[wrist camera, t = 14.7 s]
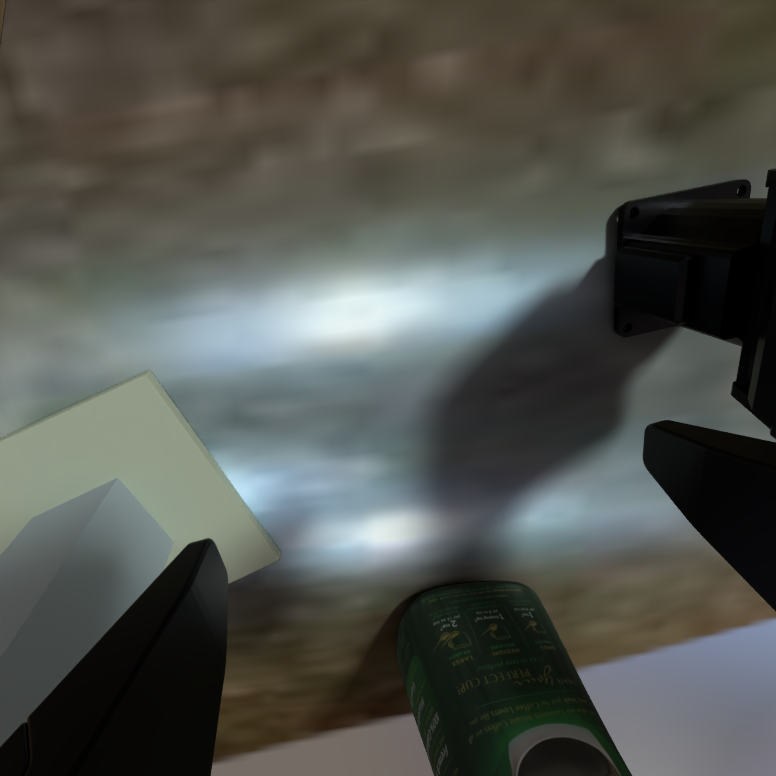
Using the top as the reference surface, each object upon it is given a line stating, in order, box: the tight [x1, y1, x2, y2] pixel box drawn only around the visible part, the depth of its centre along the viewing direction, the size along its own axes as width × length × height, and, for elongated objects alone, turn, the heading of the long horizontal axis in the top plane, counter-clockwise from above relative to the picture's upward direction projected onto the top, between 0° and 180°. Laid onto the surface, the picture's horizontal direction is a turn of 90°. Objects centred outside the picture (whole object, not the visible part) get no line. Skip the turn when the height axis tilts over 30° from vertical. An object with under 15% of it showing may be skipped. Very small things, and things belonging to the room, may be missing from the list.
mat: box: [0, 370, 280, 584], centre depth 22 cm, size 12×12×1 cm
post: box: [0, 478, 174, 746], centre depth 16 cm, size 4×4×13 cm
